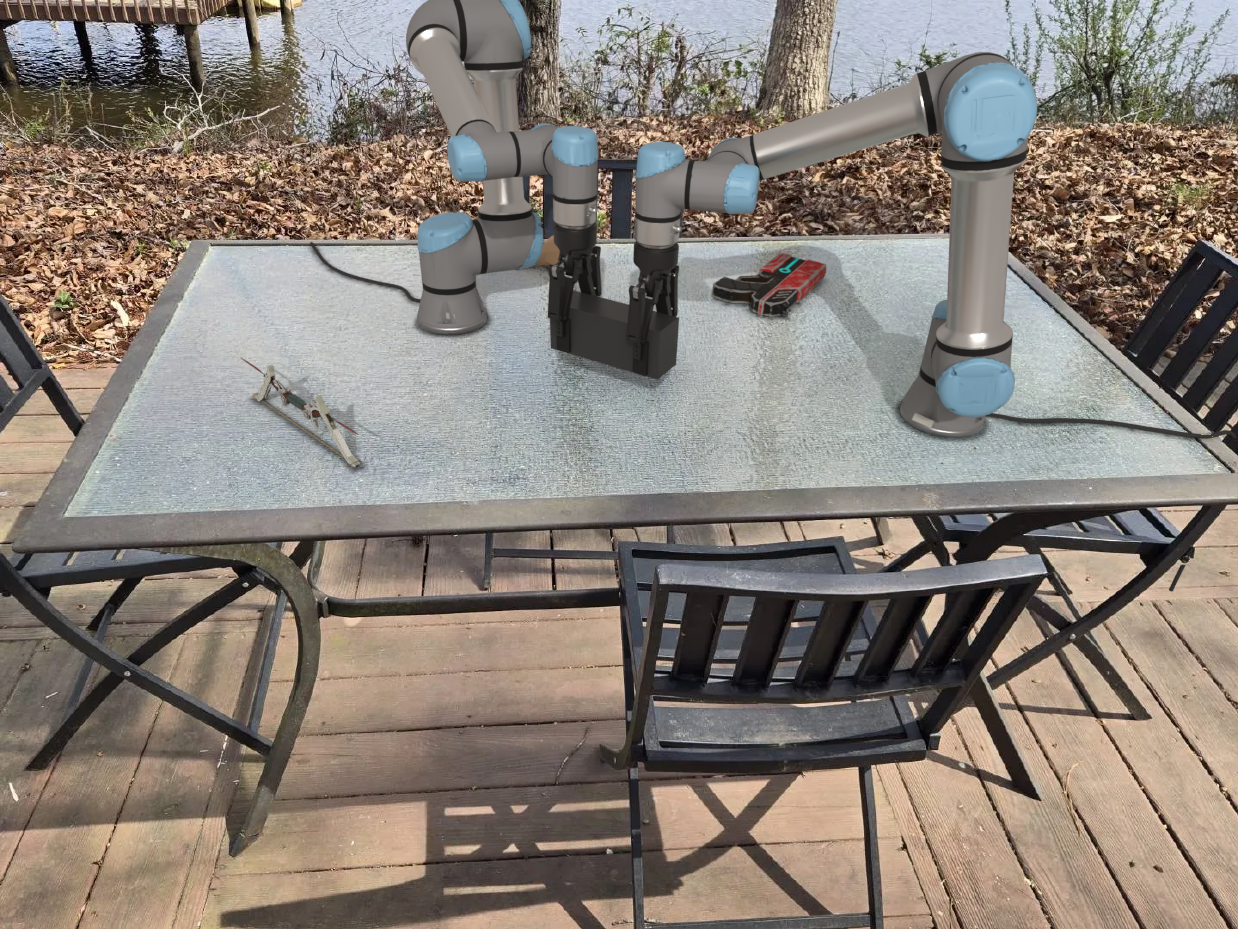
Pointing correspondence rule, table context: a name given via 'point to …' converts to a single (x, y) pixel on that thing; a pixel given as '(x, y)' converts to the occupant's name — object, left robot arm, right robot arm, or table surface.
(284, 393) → the bow
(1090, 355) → the table surface
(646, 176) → the right robot arm
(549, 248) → the squash
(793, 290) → the gun
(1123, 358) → the table surface
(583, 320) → the box
